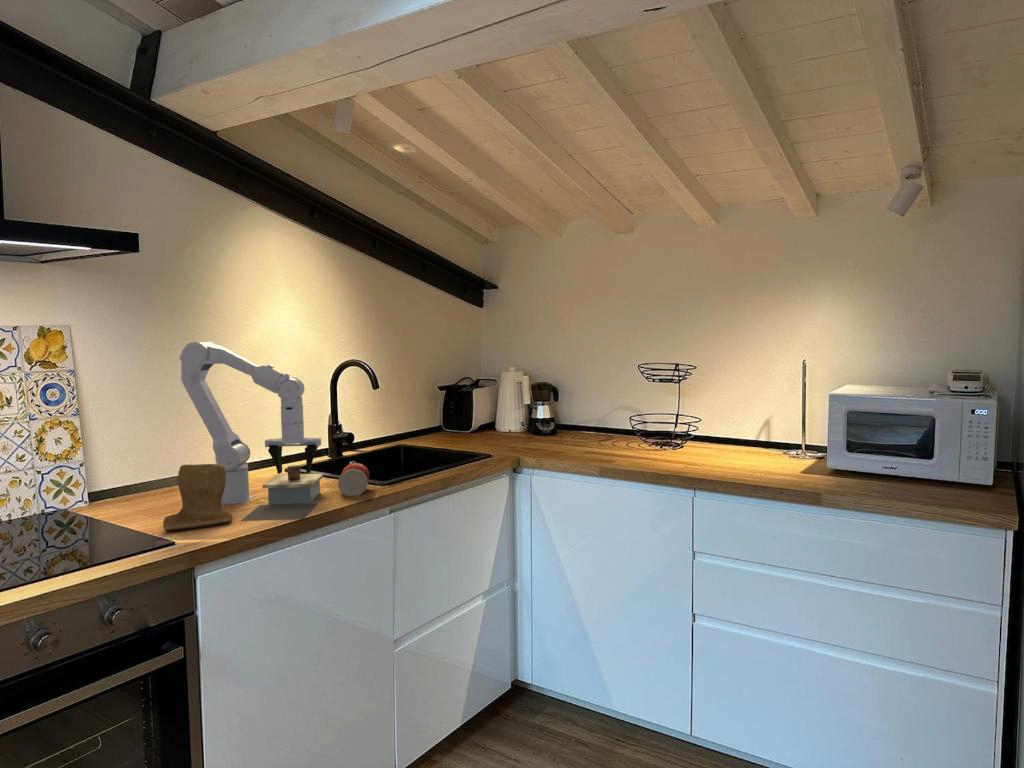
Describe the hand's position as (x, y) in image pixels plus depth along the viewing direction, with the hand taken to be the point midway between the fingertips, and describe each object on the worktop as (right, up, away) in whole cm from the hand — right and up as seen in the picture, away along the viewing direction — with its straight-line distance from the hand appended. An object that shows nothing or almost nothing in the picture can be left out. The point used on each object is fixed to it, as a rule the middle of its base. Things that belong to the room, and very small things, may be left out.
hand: (294, 472), depth 186 cm
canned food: (+14, -3, +14) cm, 19 cm away
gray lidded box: (0, -8, +1) cm, 8 cm away
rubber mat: (+1, -9, -13) cm, 16 cm away
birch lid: (0, -3, 0) cm, 3 cm away
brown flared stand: (-16, -10, -23) cm, 30 cm away
